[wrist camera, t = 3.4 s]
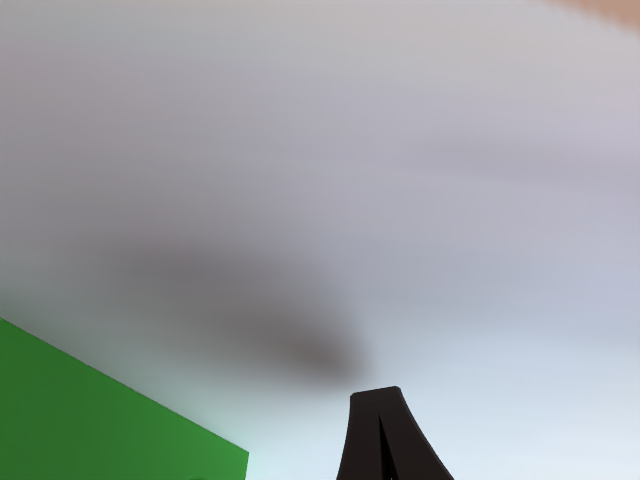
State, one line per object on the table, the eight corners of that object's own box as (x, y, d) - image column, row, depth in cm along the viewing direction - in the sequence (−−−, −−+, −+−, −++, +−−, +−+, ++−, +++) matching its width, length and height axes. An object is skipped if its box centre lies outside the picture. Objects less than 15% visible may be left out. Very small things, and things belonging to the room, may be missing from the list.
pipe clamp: (-120, 349, 13) (-327, 498, 9) (-75, 267, 12) (-290, 394, 8) (191, 501, 16) (148, 662, 12) (251, 449, 15) (226, 607, 11)
